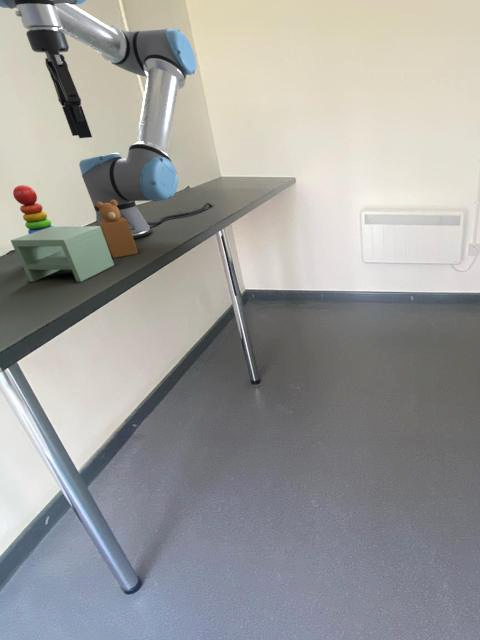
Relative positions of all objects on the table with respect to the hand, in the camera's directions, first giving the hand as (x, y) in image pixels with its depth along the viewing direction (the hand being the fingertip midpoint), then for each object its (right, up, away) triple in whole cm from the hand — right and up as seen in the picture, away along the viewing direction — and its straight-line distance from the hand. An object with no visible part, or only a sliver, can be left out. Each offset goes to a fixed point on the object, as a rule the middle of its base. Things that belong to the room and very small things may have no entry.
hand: (82, 136), depth 121 cm
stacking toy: (-19, -25, +17) cm, 36 cm away
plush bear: (+2, -25, +16) cm, 29 cm away
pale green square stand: (-3, -34, +2) cm, 34 cm away
